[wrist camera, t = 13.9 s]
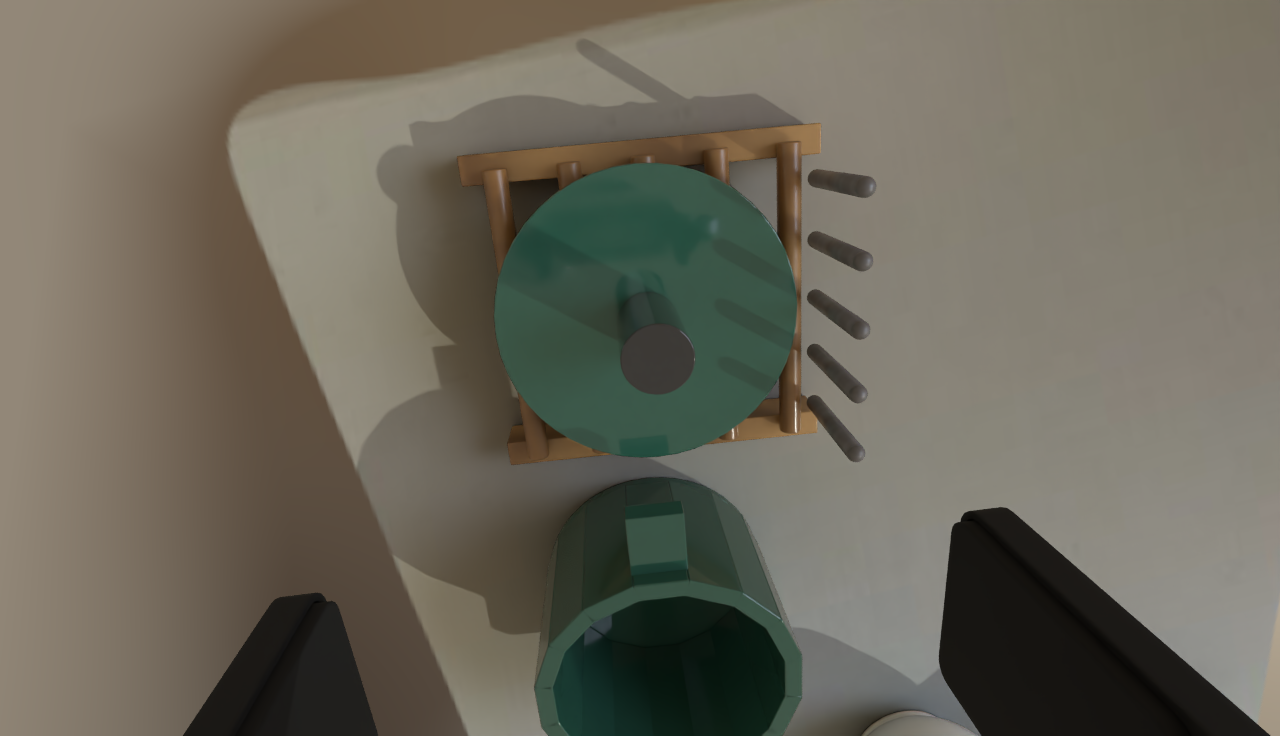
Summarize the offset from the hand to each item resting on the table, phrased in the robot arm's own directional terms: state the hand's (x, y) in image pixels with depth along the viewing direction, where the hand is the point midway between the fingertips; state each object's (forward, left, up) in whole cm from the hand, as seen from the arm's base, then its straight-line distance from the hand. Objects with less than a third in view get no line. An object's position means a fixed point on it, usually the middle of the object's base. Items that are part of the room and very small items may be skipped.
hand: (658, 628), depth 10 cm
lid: (+1, 0, -18) cm, 18 cm away
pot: (+1, -16, -22) cm, 27 cm away
